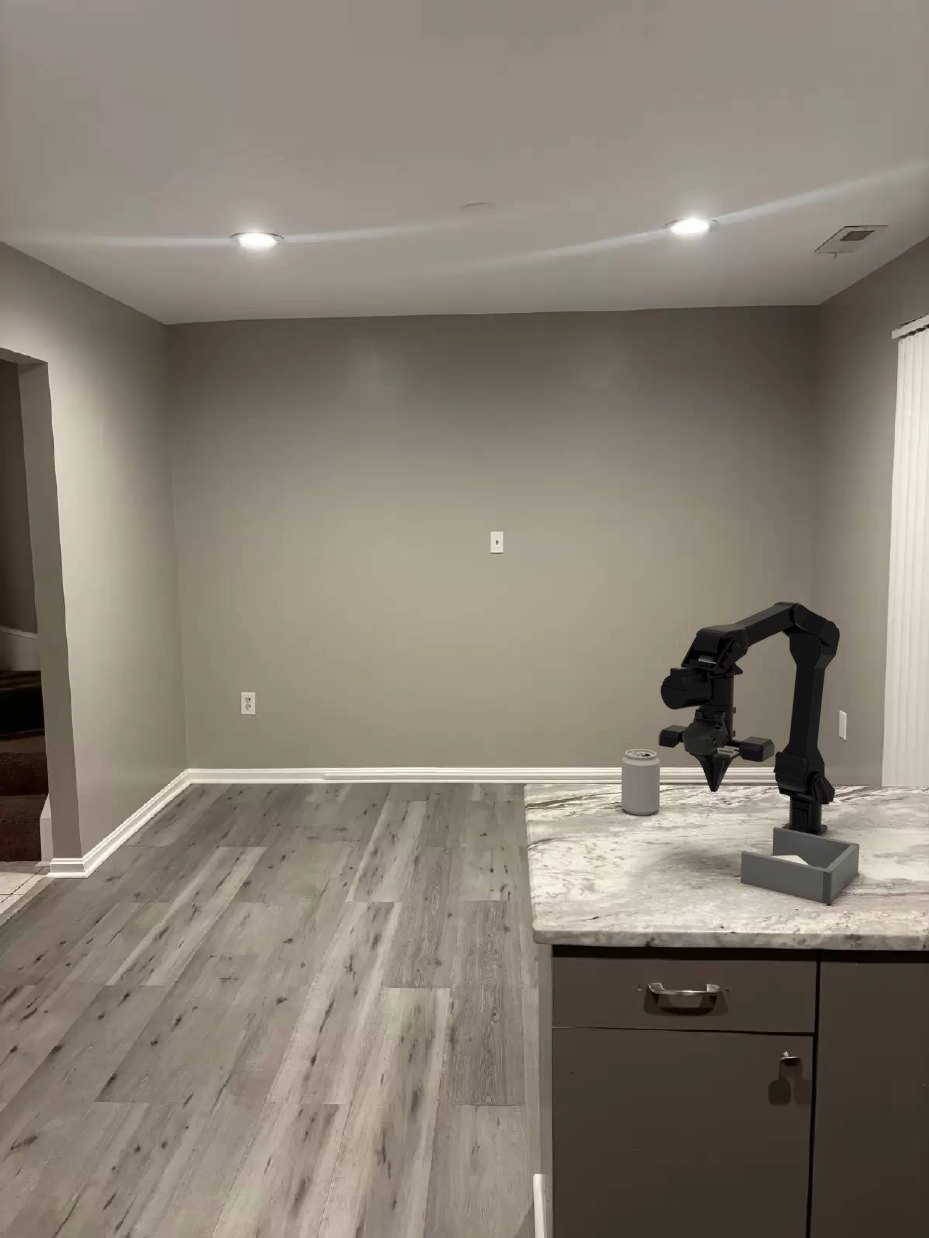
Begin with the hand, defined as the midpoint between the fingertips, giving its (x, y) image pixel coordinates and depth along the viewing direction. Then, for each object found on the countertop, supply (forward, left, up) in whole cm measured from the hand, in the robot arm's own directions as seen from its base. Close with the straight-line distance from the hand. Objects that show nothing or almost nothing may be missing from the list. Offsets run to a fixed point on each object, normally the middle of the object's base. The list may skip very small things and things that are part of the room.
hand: (714, 791), depth 162 cm
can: (-15, -22, -12) cm, 29 cm away
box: (0, +15, -12) cm, 19 cm away
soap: (+1, +14, -12) cm, 18 cm away
